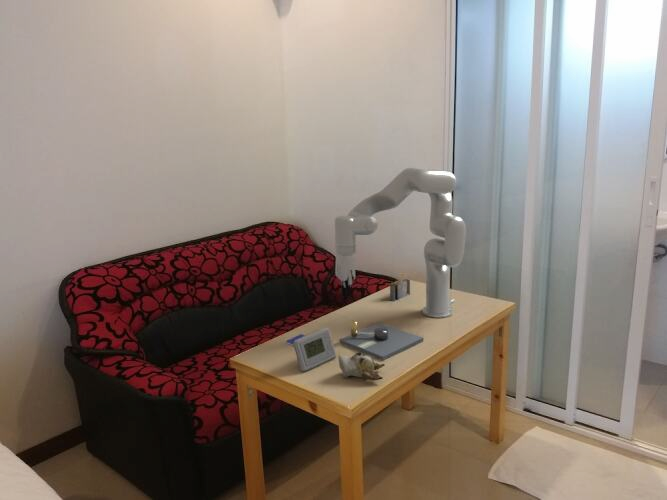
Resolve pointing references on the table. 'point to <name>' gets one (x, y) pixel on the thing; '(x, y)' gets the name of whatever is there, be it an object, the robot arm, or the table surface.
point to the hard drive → (290, 341)
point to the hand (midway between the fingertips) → (346, 296)
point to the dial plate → (382, 342)
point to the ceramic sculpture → (360, 366)
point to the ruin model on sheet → (399, 289)
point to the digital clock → (314, 349)
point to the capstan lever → (377, 334)
